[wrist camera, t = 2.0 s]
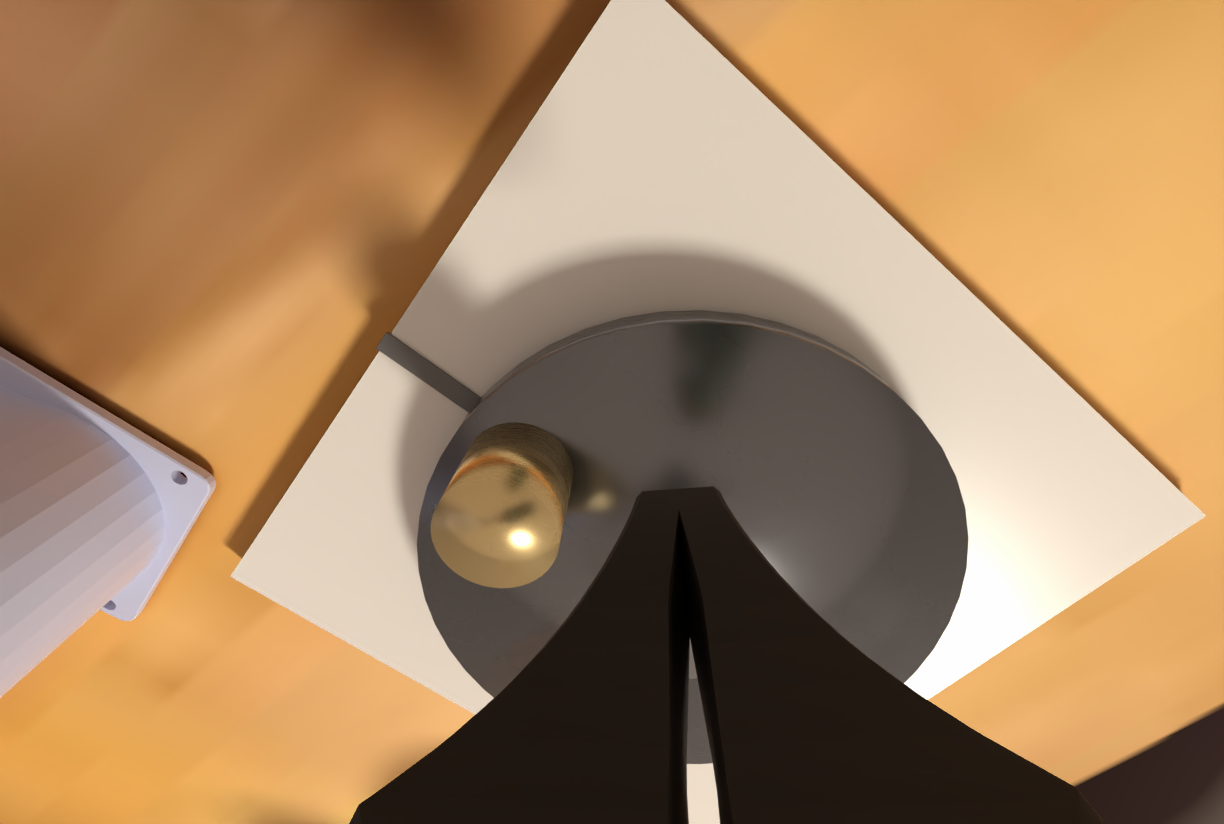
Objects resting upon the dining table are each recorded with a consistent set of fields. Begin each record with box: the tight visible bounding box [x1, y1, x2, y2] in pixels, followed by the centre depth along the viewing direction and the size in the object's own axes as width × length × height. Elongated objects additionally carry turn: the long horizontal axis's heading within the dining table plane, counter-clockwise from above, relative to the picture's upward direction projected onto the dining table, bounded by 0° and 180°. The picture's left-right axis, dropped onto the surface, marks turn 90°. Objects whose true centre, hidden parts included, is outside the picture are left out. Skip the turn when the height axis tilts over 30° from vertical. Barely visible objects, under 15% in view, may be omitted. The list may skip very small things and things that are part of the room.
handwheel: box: [417, 310, 969, 764], centre depth 18 cm, size 16×16×4 cm
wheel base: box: [230, 0, 1206, 824], centre depth 20 cm, size 22×22×1 cm
